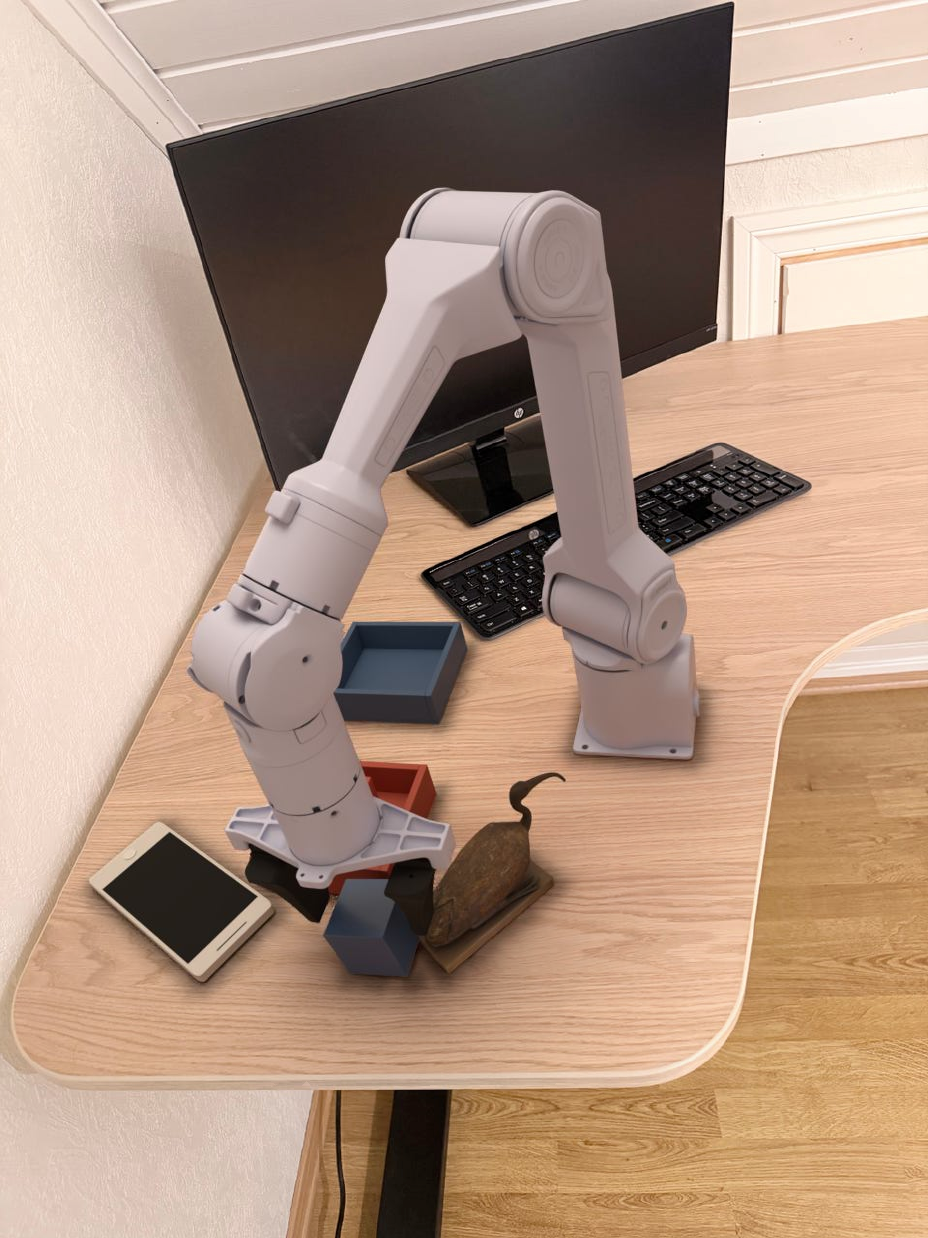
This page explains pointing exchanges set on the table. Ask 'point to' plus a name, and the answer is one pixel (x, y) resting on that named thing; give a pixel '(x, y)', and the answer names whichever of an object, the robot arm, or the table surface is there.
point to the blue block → (370, 930)
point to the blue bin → (399, 671)
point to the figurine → (486, 885)
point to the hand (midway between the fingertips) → (372, 916)
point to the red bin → (401, 789)
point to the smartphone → (182, 899)
